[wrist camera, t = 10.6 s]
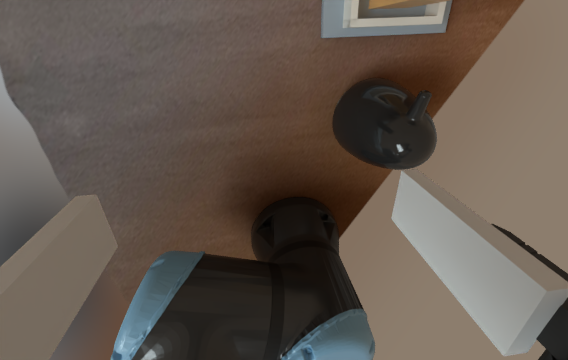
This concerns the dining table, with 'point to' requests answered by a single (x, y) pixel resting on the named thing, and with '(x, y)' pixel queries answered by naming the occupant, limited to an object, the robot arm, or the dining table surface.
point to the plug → (400, 3)
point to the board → (381, 19)
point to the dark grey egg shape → (385, 124)
